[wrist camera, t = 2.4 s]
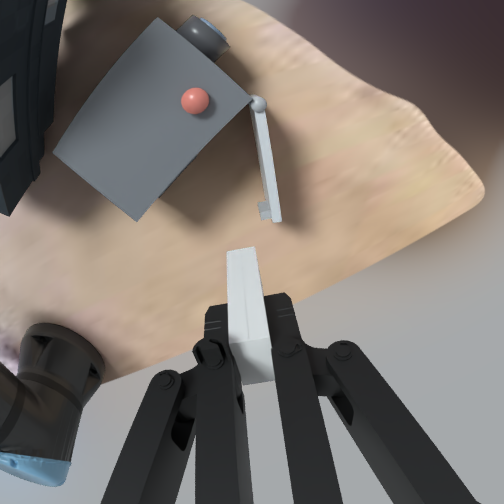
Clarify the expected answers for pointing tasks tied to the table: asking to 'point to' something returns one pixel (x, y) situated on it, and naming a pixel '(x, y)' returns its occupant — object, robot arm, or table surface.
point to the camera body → (152, 114)
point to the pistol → (26, 90)
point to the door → (265, 160)
